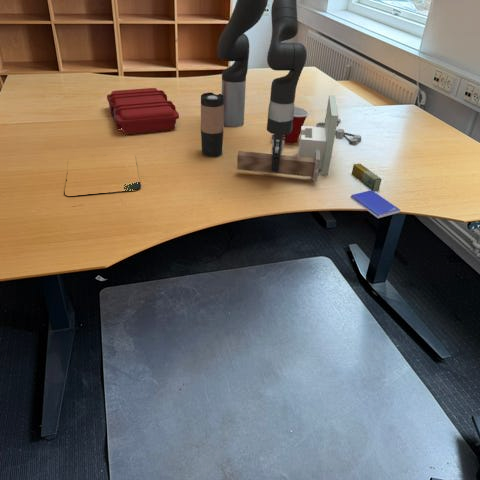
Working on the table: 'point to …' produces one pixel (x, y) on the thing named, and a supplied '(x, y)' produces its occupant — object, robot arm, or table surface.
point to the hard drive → (375, 204)
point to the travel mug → (212, 124)
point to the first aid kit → (142, 110)
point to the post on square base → (286, 164)
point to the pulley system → (343, 133)
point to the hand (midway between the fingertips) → (275, 168)
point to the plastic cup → (296, 125)
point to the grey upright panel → (320, 137)
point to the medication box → (366, 177)
